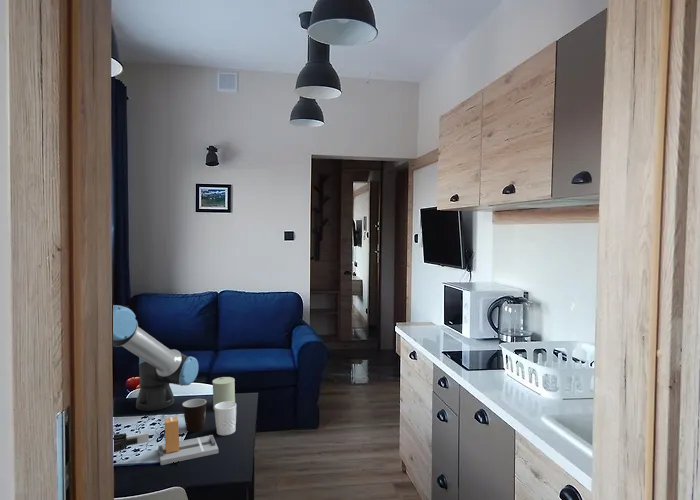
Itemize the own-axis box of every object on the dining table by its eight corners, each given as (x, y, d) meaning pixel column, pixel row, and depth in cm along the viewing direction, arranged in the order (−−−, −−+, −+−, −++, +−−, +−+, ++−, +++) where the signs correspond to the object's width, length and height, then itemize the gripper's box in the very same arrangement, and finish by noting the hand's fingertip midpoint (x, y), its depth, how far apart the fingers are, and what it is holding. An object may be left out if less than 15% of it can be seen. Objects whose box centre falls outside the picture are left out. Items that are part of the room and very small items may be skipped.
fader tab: (165, 448, 159) (164, 418, 159) (178, 445, 161) (177, 416, 160) (166, 453, 156) (165, 422, 155) (179, 450, 157) (178, 420, 157)
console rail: (158, 449, 162) (158, 442, 162) (212, 438, 170) (212, 432, 170) (160, 465, 151) (160, 457, 151) (218, 453, 159) (218, 445, 159)
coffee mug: (200, 434, 173) (199, 407, 173) (178, 433, 175) (177, 406, 175) (215, 421, 185) (214, 396, 184) (195, 420, 187) (194, 395, 186)
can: (231, 401, 206) (231, 374, 206) (238, 408, 198) (237, 380, 198) (210, 406, 202) (209, 378, 201) (216, 413, 194) (215, 384, 193)
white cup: (225, 438, 170) (224, 410, 170) (210, 433, 174) (209, 406, 174) (241, 430, 177) (240, 403, 176) (226, 425, 181) (225, 399, 181)
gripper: (67, 455, 151) (148, 440, 161) (62, 474, 139) (149, 456, 149) (66, 432, 151) (147, 418, 161) (61, 449, 139) (149, 433, 149)
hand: (148, 436), depth 155 cm, fingers closed
